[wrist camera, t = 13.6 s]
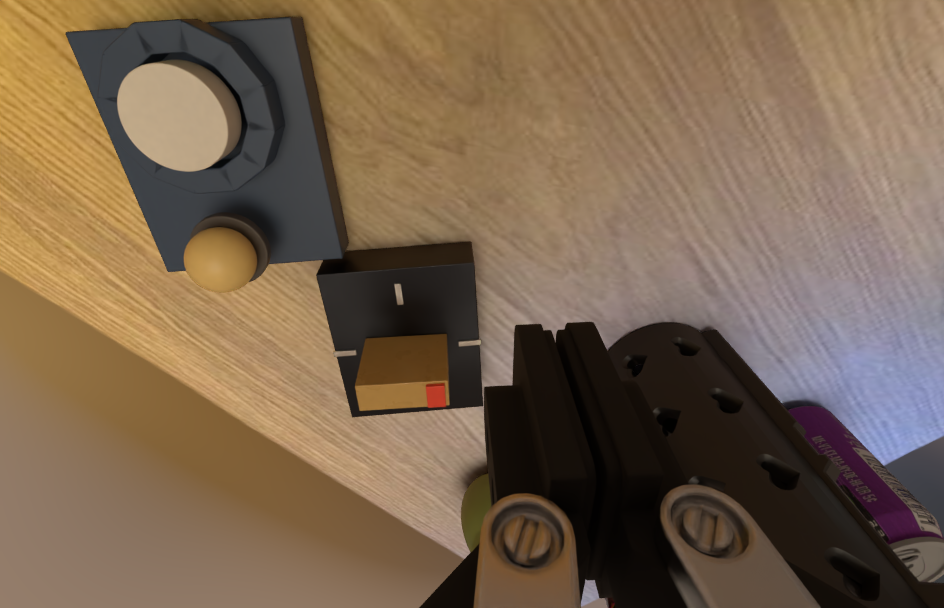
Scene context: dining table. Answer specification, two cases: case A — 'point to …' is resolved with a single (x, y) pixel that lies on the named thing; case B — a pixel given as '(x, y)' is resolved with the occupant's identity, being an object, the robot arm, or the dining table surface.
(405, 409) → the base
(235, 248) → the lamp dome
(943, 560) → the beverage can
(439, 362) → the orange brown rectangular block
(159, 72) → the power button
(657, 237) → the dining table surface
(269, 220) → the button base
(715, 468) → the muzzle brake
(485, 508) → the pear
